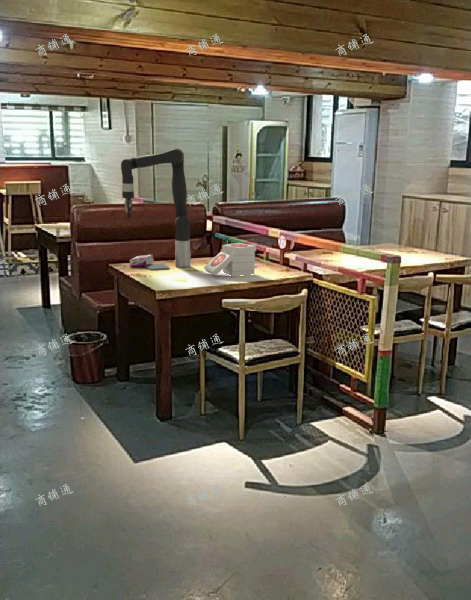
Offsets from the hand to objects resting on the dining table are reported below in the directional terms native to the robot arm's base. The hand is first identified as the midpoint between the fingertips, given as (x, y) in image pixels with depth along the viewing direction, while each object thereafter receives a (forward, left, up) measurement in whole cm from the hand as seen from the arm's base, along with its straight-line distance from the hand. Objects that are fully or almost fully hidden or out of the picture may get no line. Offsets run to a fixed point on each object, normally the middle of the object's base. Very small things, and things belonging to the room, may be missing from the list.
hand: (128, 217), depth 404 cm
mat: (-15, +14, -31) cm, 37 cm away
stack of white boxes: (-52, +49, -31) cm, 78 cm away
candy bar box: (-3, +11, -28) cm, 30 cm away
